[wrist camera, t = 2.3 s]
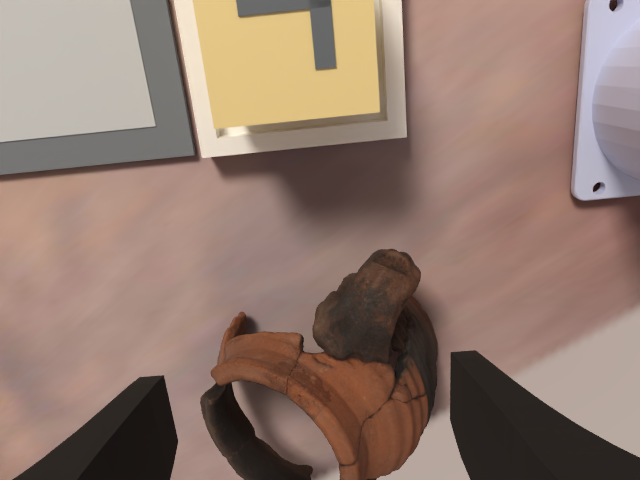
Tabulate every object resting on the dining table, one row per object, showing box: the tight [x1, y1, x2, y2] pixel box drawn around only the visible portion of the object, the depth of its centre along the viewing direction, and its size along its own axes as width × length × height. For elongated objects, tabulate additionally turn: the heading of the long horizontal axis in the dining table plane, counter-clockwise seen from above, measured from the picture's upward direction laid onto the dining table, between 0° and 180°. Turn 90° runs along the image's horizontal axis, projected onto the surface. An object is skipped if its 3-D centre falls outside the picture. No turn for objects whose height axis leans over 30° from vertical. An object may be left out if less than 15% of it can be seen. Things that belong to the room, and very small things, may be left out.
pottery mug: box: [200, 249, 437, 480], centre depth 21 cm, size 12×10×8 cm
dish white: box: [174, 0, 407, 158], centre depth 19 cm, size 8×8×1 cm
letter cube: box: [193, 0, 380, 129], centre depth 16 cm, size 5×5×5 cm
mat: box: [0, 0, 196, 175], centre depth 19 cm, size 9×9×1 cm
